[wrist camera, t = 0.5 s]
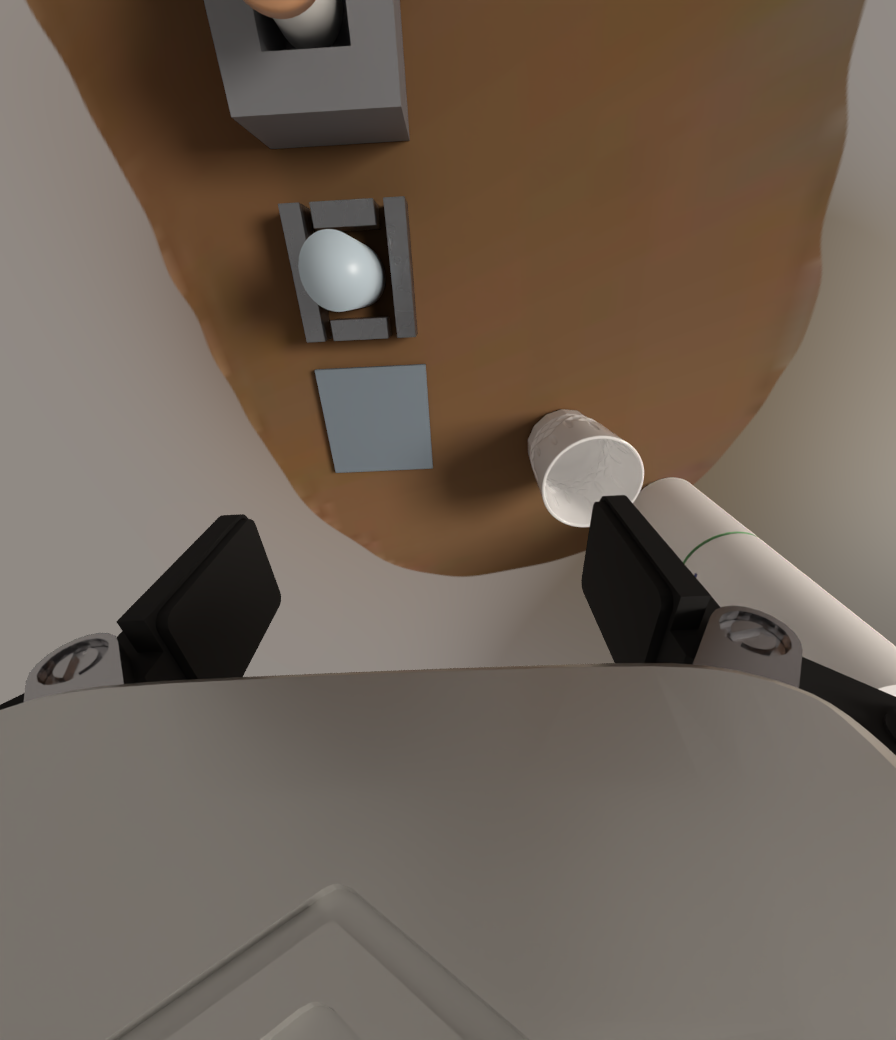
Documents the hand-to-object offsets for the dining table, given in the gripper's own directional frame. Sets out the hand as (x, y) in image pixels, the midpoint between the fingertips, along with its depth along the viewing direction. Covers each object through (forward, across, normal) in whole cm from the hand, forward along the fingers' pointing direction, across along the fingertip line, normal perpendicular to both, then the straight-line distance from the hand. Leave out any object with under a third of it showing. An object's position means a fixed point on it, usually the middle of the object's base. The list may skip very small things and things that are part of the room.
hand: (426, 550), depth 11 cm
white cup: (+29, -12, +8) cm, 32 cm away
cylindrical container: (+29, -24, +16) cm, 40 cm away
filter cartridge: (+29, +6, -7) cm, 30 cm away
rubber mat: (+29, +6, +5) cm, 30 cm away
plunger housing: (+29, +6, -20) cm, 36 cm away
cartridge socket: (+29, +6, -7) cm, 30 cm away
